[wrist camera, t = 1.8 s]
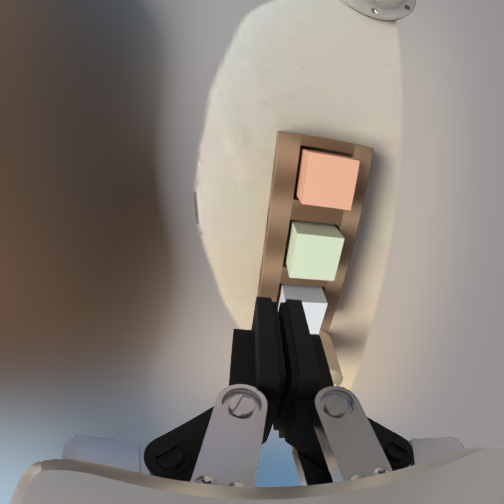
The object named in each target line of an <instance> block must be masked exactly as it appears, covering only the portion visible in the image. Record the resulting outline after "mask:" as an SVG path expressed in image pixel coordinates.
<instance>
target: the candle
mask: <svg viewBox="0 0 504 504" xmlns="http://www.w3.org/2000/svg"><path fill="white" fill-rule="evenodd" d="M318 335H320V338H321V341H322V344H323V348H324V351H325V355H326V358H327V362H328V365H329V369H330V373H331V376H332V380H333V384H334V386H339V385H340V384H341V382H342V380H343V377H342V373H341V370H340V366H339V363H338V360H337V356H336V353H335V350H334V346H333V343H332V340H331V337H330V335H329V334H328V333H327V332H325V331H322V330H320V331H319V334H318Z"/></svg>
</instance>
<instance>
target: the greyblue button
mask: <svg viewBox="0 0 504 504" xmlns="http://www.w3.org/2000/svg"><path fill="white" fill-rule="evenodd" d="M286 299H295V300H301V301H302V304H303V308H304V312H305V316H306V320H307V324H308V327H309V331H310V334H319V331H320V328H321V324H322V321H323V318H324V314H325V311H326V308H327V304H328V303H327V300H326V297H325V295H324V292H323V290H322V287H321V286H307V285H293V284H281V285H280V291H279V297H278V302H277V307H278V311H279V306H280V303H281V302H285V301H286Z"/></svg>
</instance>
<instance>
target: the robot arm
mask: <svg viewBox="0 0 504 504" xmlns="http://www.w3.org/2000/svg"><path fill="white" fill-rule="evenodd" d="M342 1H344V2H345V3H346V4H347V5H349V6H350V7H352V8H353V9H355V10H356V11H359V12H361V13H363V14H364V15H367V16H370V17H373V18H376V19H380V20H389V21H391V20H398V19H401V18H404V17H405V16H407V15H408V14H410V13H411V12H412V11H413V9H414V7H415V3H416V0H342ZM272 424H273V427H274V430H279V438H285V441H286V442H287V443H289V444H290V445H291V446H292V447H291V448H292V454H293V458H294V461H295V465H296V468H297V472H298V475H299V479H300V482H301V486H292V487H254V486H255V481H256V475H257V470H258V464H259V458H260V452H261V446H262V444H263V443H265V442H266V441H267V438H268V435H269V433H270V430H271V427H272ZM9 504H504V447H502V446H499V445H476V446H471V447H467V448H464V446H463V444H462V442H461V441H459V440H458V439H457V438H454V437H445V438H425V439H411V440H410V441H407V440H406V439H404V438H403V437H401V436H399V435H398V434H396V433H394V432H392V431H390V430H389V429H387V428H385V427H383V426H382V425H380V424H378V423H376V422H375V421H373V420H371V419H369V418H368V417H367V416H366V414H365V412H364V410H363V408H362V406H361V405H360V402H359V400H358V399H357V397H356V396H355V395H354V394H353V393H352V392H351V391H350V390H348V389H345V388H343V387H339V386H334V384H333V380H332V376H331V373H330V369H329V365H328V362H327V358H326V355H325V351H324V348H323V344H322V341H321V338H320V335H318V334H310V331H309V327H308V324H307V320H306V316H305V312H304V308H303V304H302V301H301V300H295V299H286V301H285V302H281V303H280V306H279V311H278V307H277V302H272V298H270V297H259V296H257V298H256V303H255V310H254V317H253V324H252V330H242V329H234V333H233V342H232V354H231V365H230V379H229V386H228V387H226V388H224V389H223V390H222V391H221V392H220V393H219V395H218V397H217V399H216V402H215V405H214V407H212V408H210V409H209V410H207V411H205V412H204V413H202V414H200V415H199V416H197V417H195V418H193V419H192V420H190V421H188V422H186V423H185V424H183V425H181V426H179V427H177V428H175V429H174V430H172V431H170V432H168V433H166V434H165V435H163V436H160V437H159V438H157V439H155V440H153V441H152V442H139V441H138V440H132V439H131V440H130V439H114V438H103V437H94V436H84V435H76V436H73V437H71V438H69V439H68V440H67V441H66V443H65V445H64V448H63V455H62V459H50V460H43V461H39V462H36V463H34V464H33V465H32V466H30V467H29V468H28V469H27V470H26V471H25V473H24V474H23V476H22V477H21V479H20V480H19V482H18V484H17V486H16V488H15V491H14V493H13V495H12V498H11V500H10V503H9Z"/></svg>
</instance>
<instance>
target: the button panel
mask: <svg viewBox="0 0 504 504" xmlns="http://www.w3.org/2000/svg"><path fill="white" fill-rule="evenodd" d="M301 148H302V149H309V150H315V151H322V152H328V153H333V154H339V155H344V156H348V157H350V158H353V159H356V160H358V161H360V163H359V169H358V175H357V180H356V186H355V191H354V196H353V201H352V206H351V210H344V209H336V208H329V207H321V206H314V205H306V204H302V203H301V202H300V200H299V198H298V197H297V195H296V194H295V191H296V184H297V177H298V170H299V162H300V155H301ZM372 152H373V148H370V147H365V146H361V145H356V144H352V143H347V142H342V141H337V140H331V139H326V138H320V137H314V136H308V135H301V134H294V133H287V132H279V131H278V132H277V140H276V149H275V158H274V166H273V175H272V183H271V191H270V200H269V208H268V216H267V224H266V232H265V240H264V248H263V256H262V264H261V272H260V280H259V287H258V295H257V296H259V297H270V298H272V302H278V297H279V291H280V285H281V284H293V285H307V286H321V287H322V290H323V292H324V295H325V297H326V300H327V303H328V304H327V308H326V311H325V314H324V318H323V321H322V324H321V328H320V330H329V328H330V325H331V322H332V319H333V316H334V312H335V309H336V306H337V303H338V300H339V296H340V293H341V289H342V286H343V282H344V279H345V275H346V272H347V268H348V264H349V261H350V257H351V253H352V249H353V245H354V241H355V237H356V233H357V228H358V224H359V220H360V215H361V211H362V206H363V201H364V196H365V191H366V186H367V181H368V175H369V170H370V164H371V158H372ZM291 219H292V220H301V221H310V222H318V223H327V224H334V225H335V226H336V228H337V229H338V230H339V232H340V233H341V234H342V236H343V237H344V238H345V239H344V243H343V247H342V251H341V255H340V260H339V264H338V267H337V271H336V275H335V279H334V281H328V280H314V279H301V278H289V274H288V269H287V265H286V260H285V256H286V250H287V244H288V237H289V231H290V225H291Z"/></svg>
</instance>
